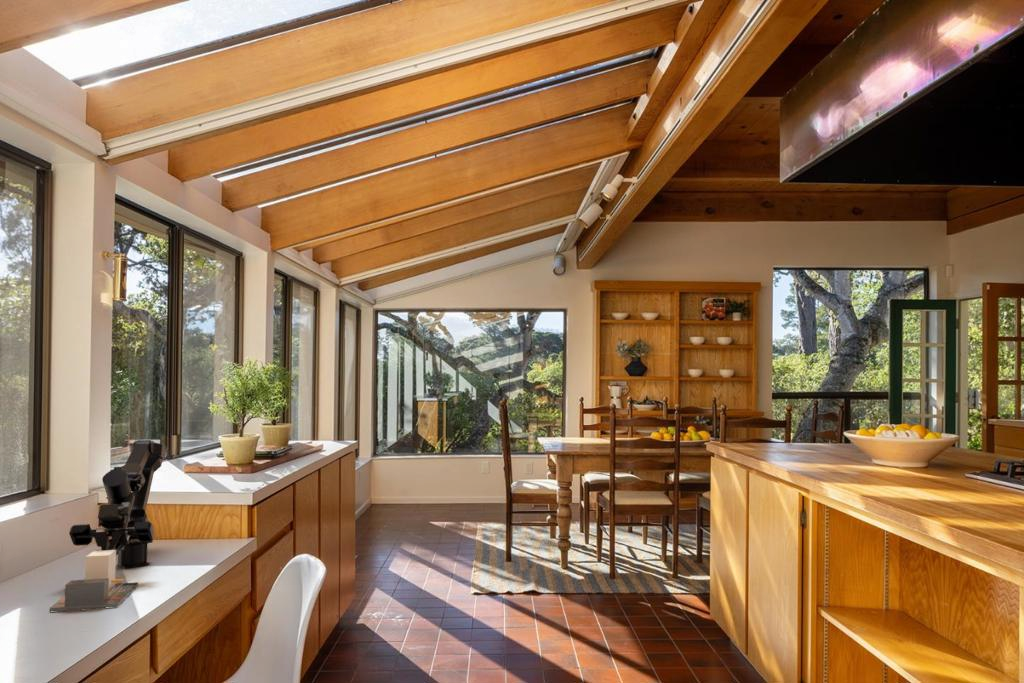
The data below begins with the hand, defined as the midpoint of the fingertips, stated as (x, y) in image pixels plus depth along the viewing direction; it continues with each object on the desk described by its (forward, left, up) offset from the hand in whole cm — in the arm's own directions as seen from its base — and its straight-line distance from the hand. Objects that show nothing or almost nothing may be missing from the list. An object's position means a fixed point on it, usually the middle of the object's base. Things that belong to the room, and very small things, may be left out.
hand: (104, 562), depth 177 cm
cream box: (+2, +3, -6) cm, 7 cm away
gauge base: (+3, +5, -7) cm, 9 cm away
